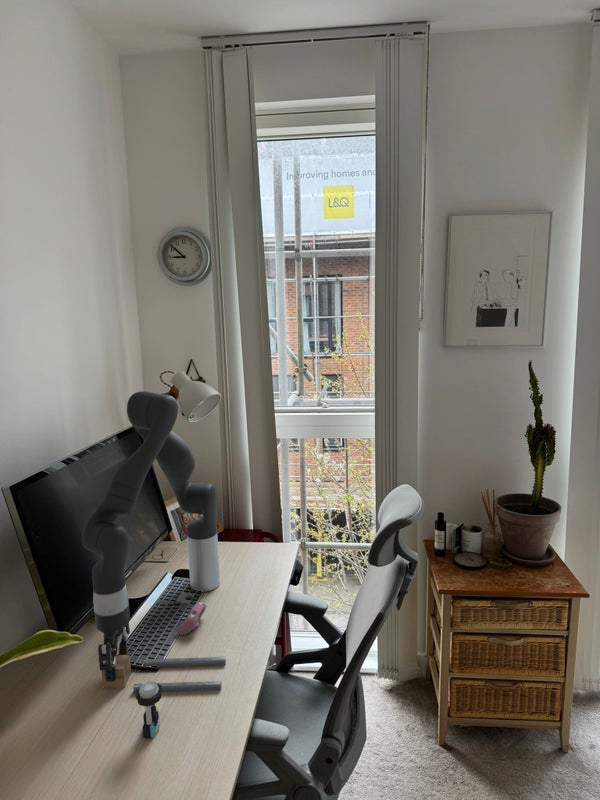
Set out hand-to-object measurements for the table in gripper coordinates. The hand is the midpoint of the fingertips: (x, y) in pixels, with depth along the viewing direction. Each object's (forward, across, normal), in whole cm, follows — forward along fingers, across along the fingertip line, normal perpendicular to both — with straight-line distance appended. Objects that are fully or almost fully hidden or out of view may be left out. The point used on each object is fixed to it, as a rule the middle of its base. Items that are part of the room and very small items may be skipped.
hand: (117, 668), depth 126 cm
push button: (+4, -15, -12) cm, 19 cm away
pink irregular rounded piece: (+3, +21, -14) cm, 25 cm away
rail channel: (+3, 0, -15) cm, 15 cm away
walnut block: (+3, 0, 0) cm, 3 cm away
